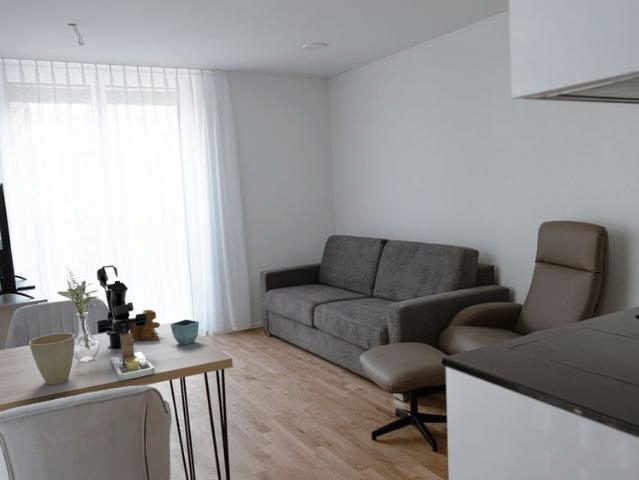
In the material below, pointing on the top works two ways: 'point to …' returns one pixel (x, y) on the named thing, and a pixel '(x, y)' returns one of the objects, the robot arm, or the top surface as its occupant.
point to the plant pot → (54, 356)
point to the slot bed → (119, 364)
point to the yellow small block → (132, 364)
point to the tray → (135, 372)
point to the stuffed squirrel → (146, 328)
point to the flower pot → (185, 331)
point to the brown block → (127, 347)
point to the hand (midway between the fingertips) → (125, 340)
